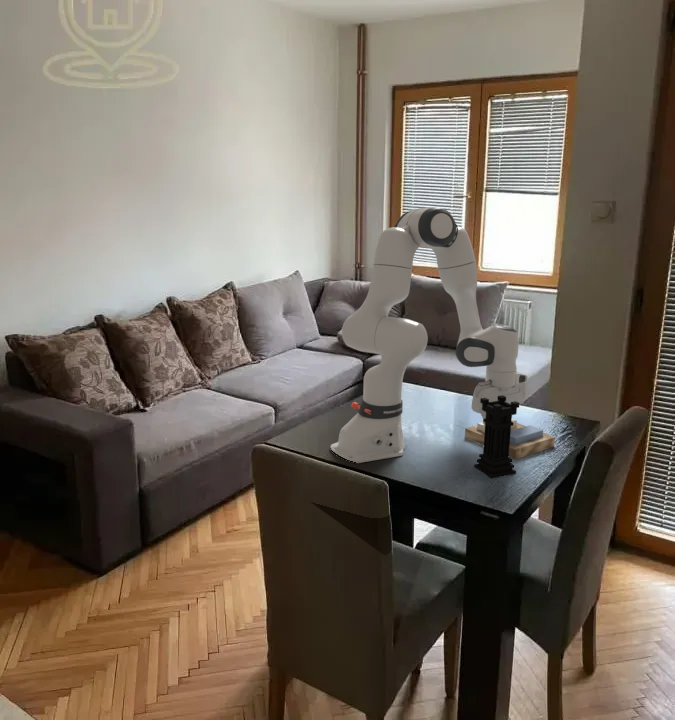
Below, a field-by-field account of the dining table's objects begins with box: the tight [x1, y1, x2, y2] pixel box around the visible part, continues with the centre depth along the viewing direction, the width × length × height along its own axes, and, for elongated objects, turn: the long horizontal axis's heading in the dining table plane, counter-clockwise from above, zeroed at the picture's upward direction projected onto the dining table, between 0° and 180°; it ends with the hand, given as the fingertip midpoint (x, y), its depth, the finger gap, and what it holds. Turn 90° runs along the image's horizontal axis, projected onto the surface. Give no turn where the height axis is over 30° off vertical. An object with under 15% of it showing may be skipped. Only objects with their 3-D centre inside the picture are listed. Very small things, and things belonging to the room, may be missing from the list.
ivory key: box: [476, 418, 518, 433], centre depth 208 cm, size 12×5×3 cm, turn 125°
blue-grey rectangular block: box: [510, 425, 544, 445], centre depth 200 cm, size 12×5×3 cm, turn 125°
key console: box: [464, 422, 556, 460], centre depth 205 cm, size 17×20×3 cm
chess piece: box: [473, 395, 520, 479], centre depth 182 cm, size 8×8×20 cm
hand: (497, 421), depth 207 cm, fingers open, 8 cm apart
